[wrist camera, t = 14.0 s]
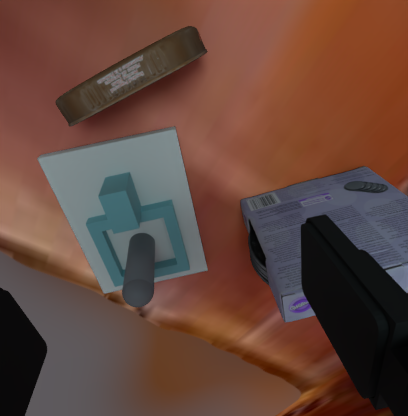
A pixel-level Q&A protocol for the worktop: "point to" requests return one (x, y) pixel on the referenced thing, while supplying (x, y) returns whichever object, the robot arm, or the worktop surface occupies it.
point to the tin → (131, 75)
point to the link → (132, 226)
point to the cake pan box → (340, 214)
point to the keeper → (148, 194)
